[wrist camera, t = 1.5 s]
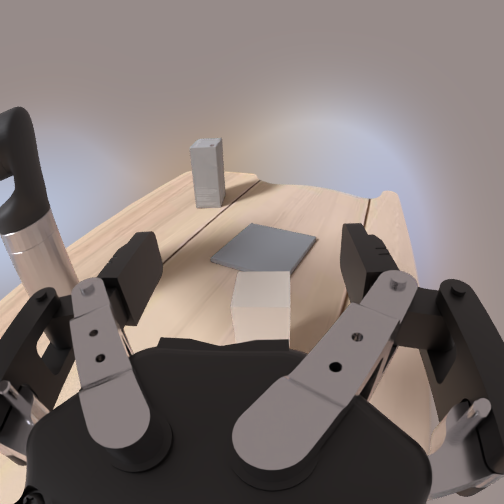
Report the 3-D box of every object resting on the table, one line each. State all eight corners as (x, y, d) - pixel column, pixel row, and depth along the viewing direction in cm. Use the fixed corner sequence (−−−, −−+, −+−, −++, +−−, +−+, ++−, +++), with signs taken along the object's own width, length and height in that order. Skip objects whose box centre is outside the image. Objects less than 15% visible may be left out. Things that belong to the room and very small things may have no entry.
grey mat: (211, 261, 53) (210, 257, 52) (251, 226, 63) (251, 223, 62) (284, 283, 46) (284, 279, 46) (315, 240, 56) (315, 236, 56)
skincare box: (202, 196, 79) (195, 139, 71) (229, 194, 79) (222, 136, 70) (195, 209, 72) (185, 146, 64) (223, 208, 72) (216, 143, 63)
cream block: (243, 383, 31) (230, 306, 25) (247, 350, 36) (237, 271, 29) (288, 384, 31) (290, 307, 24) (288, 350, 35) (289, 271, 29)
